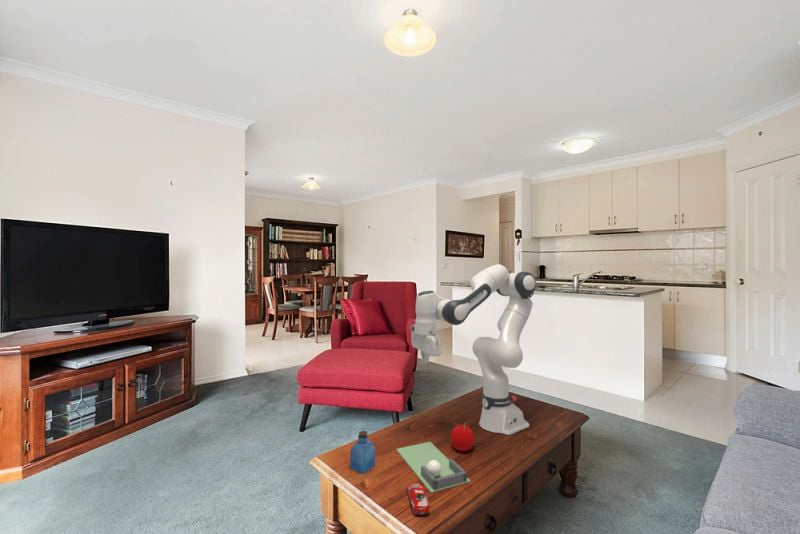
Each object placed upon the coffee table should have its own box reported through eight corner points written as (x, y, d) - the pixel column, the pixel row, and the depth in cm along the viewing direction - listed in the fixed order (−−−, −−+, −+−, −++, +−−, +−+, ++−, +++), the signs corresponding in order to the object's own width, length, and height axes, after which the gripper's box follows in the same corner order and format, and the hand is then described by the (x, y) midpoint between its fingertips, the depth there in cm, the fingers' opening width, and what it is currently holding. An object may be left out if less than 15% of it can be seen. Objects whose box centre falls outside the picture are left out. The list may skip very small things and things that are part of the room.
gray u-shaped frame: (451, 467, 125) (451, 458, 125) (466, 481, 116) (466, 472, 116) (420, 475, 120) (420, 466, 120) (434, 491, 111) (434, 481, 111)
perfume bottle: (364, 473, 120) (364, 438, 120) (350, 468, 123) (350, 434, 123) (374, 465, 125) (375, 431, 125) (361, 460, 129) (361, 427, 129)
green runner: (430, 442, 142) (430, 441, 142) (470, 481, 116) (470, 480, 116) (396, 449, 136) (396, 448, 136) (430, 492, 110) (430, 491, 110)
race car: (406, 489, 112) (406, 477, 113) (422, 488, 113) (422, 476, 113) (412, 518, 99) (412, 504, 99) (431, 517, 100) (431, 503, 100)
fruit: (472, 456, 132) (473, 430, 132) (449, 452, 135) (449, 426, 135) (475, 444, 141) (475, 419, 141) (452, 441, 143) (452, 416, 143)
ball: (438, 468, 122) (429, 456, 123) (446, 468, 119) (437, 456, 119) (429, 480, 119) (421, 468, 119) (438, 480, 115) (429, 468, 116)
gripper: (444, 333, 139) (444, 368, 139) (421, 325, 158) (421, 355, 158) (431, 334, 137) (430, 369, 137) (408, 326, 156) (408, 357, 156)
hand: (425, 362), depth 148 cm, fingers closed
